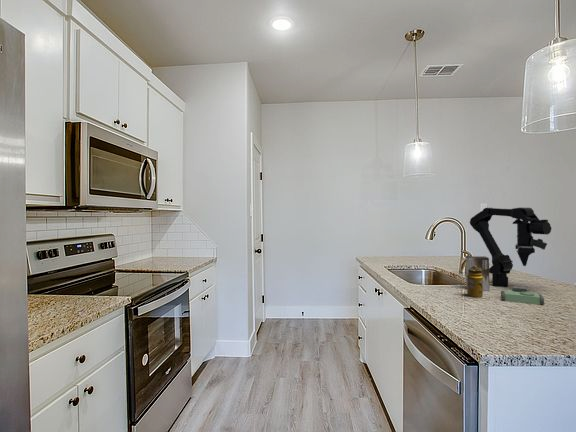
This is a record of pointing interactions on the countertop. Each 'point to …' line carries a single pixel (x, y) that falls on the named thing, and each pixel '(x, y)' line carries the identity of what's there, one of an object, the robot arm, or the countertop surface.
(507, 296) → the green toy cart
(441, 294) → the countertop surface
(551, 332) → the countertop surface
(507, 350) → the countertop surface
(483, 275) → the coffee box
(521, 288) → the stepped grey block
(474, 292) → the condiment
